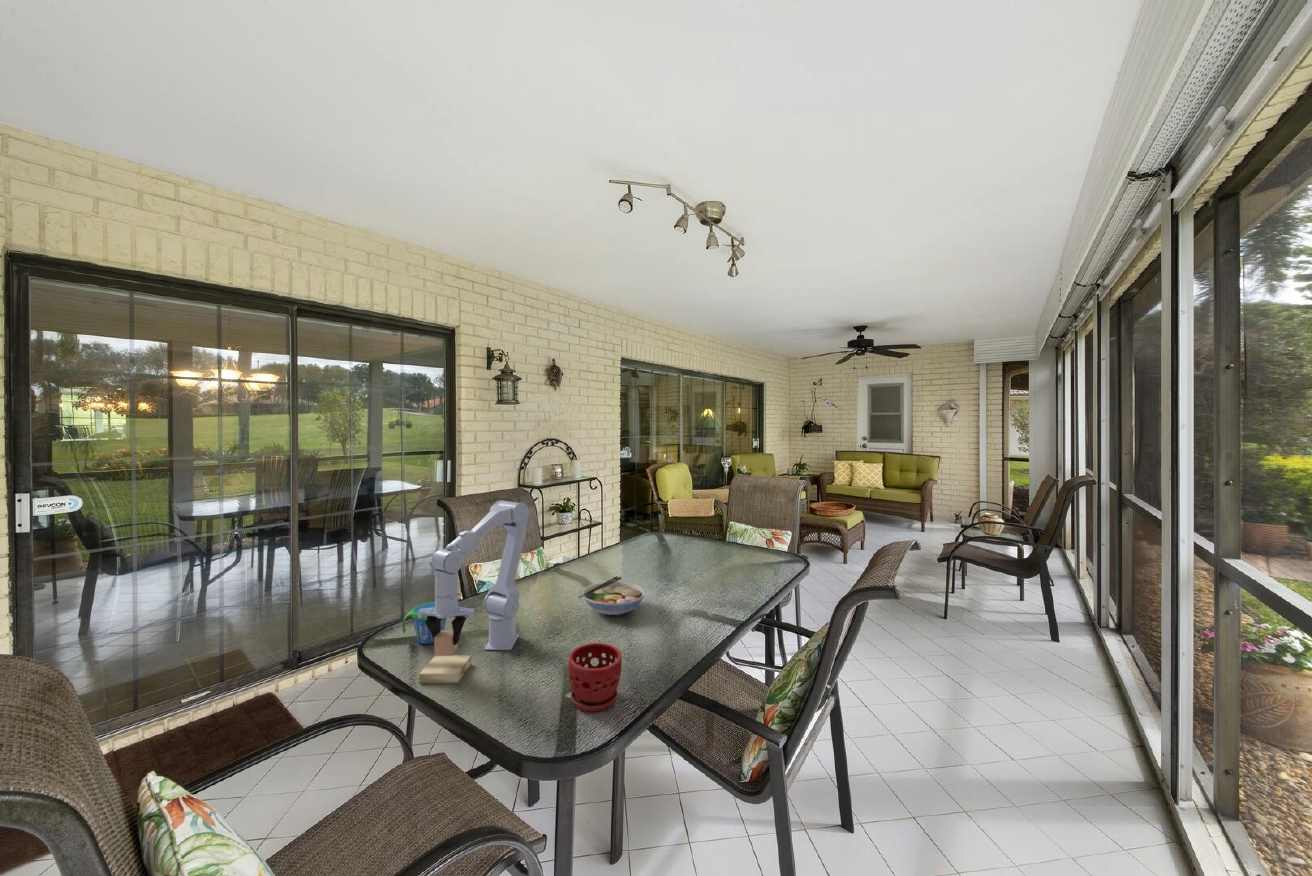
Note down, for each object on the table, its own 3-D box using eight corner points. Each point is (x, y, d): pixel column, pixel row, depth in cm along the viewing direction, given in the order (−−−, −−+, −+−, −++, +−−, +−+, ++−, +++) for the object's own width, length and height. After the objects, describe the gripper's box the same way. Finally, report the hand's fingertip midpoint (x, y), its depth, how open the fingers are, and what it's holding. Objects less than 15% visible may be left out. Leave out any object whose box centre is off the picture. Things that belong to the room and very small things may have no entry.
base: (435, 663, 139) (435, 655, 139) (471, 663, 139) (471, 655, 139) (419, 683, 129) (419, 673, 129) (457, 683, 129) (457, 673, 129)
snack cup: (398, 650, 147) (398, 616, 146) (407, 634, 157) (407, 603, 157) (454, 644, 151) (454, 612, 150) (459, 630, 161) (459, 599, 160)
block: (441, 647, 136) (441, 630, 136) (457, 647, 136) (457, 630, 136) (434, 655, 131) (434, 637, 131) (451, 655, 131) (451, 637, 131)
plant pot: (557, 705, 120) (557, 657, 120) (592, 681, 131) (592, 637, 131) (597, 724, 113) (598, 673, 112) (631, 697, 124) (632, 651, 123)
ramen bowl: (619, 631, 161) (619, 607, 161) (566, 616, 173) (566, 593, 173) (658, 607, 183) (658, 585, 182) (609, 594, 195) (609, 574, 194)
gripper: (412, 599, 129) (412, 649, 130) (468, 599, 129) (468, 650, 130) (424, 589, 136) (424, 637, 137) (477, 590, 136) (477, 638, 137)
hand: (446, 643), depth 134 cm, fingers closed on block, 4 cm apart
